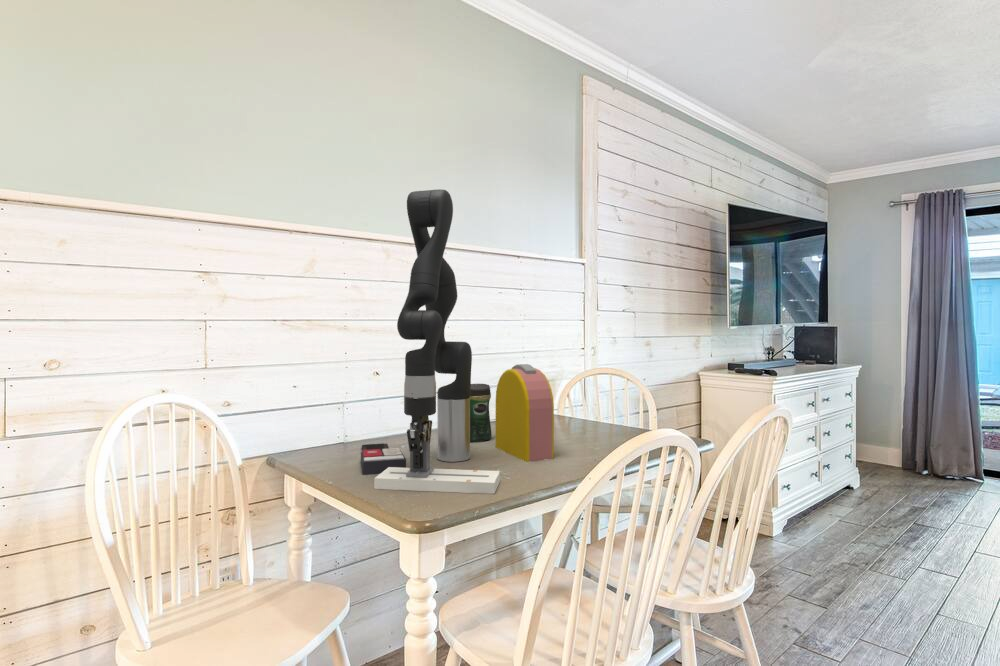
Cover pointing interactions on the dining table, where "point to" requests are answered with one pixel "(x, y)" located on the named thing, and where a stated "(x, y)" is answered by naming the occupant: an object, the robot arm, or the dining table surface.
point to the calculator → (381, 460)
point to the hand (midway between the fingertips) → (420, 466)
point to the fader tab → (426, 463)
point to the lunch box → (525, 414)
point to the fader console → (439, 481)
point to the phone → (374, 446)
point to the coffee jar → (480, 412)
